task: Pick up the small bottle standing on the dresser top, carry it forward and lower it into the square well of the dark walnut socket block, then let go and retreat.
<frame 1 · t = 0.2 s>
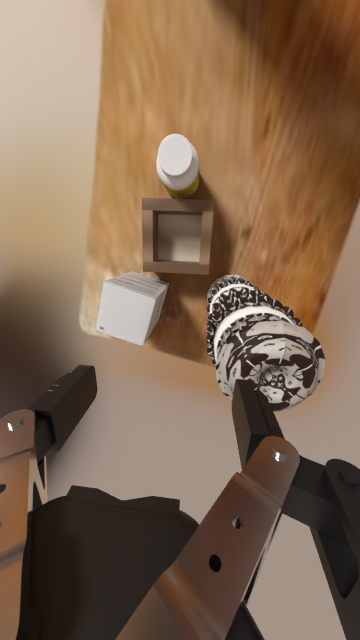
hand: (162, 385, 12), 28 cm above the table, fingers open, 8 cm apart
supplement bottle: (182, 180, 33), on the table
supplement box: (147, 294, 40), on the table
decorative candle: (229, 297, 39), on the table
socket block: (180, 238, 36), on the table
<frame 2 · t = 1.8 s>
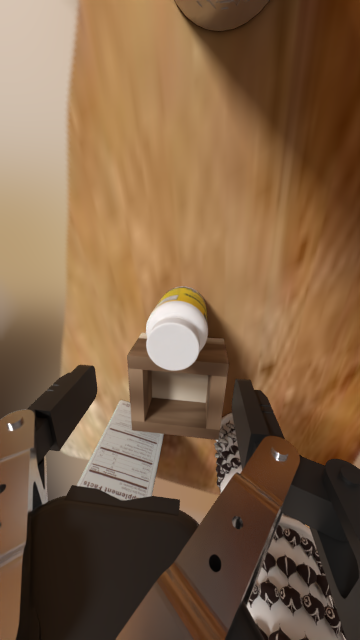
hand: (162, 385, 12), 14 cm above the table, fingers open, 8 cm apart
supplement bottle: (183, 307, 25), on the table
supplement box: (139, 422, 32), on the table
decorative candle: (243, 432, 31), on the table
socket block: (180, 370, 28), on the table
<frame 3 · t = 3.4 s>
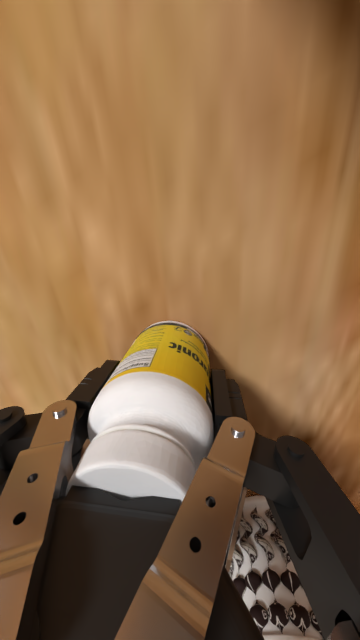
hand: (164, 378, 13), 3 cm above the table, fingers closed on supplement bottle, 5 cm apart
supplement bottle: (172, 351, 16), on the table, touching gripper
decorative candle: (261, 520, 21), on the table
socket block: (169, 440, 18), on the table
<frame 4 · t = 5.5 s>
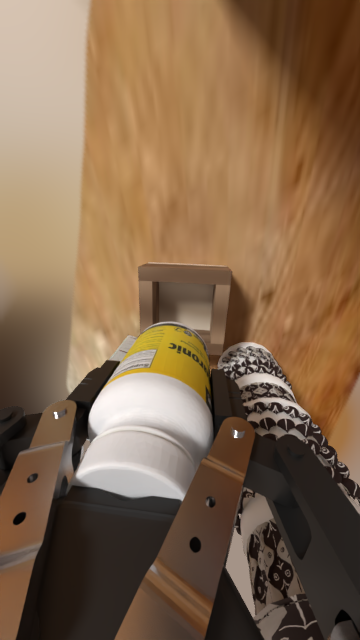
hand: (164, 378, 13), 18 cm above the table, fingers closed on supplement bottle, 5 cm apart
supplement bottle: (172, 352, 16), point 15 cm above the table, touching gripper
supplement box: (145, 359, 34), on the table
decorative candle: (245, 366, 32), on the table
socket block: (185, 301, 30), on the table
when the fingers open (6 cm above the table, at t = 8.0 s): supplement bottle drops 2 cm, resting on socket block.
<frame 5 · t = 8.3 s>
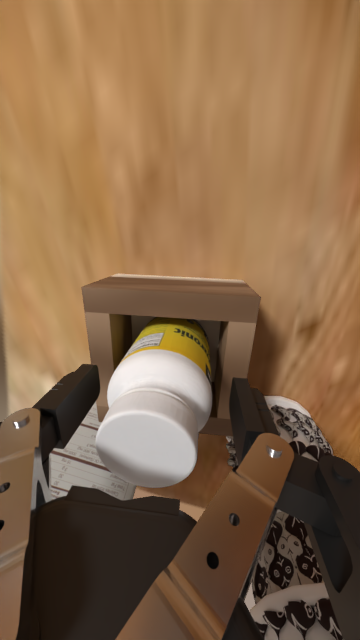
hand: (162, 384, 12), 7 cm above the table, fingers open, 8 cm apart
supplement bottle: (175, 340, 17), point 1 cm above the table, touching socket block
supplement box: (119, 414, 23), on the table
decorative candle: (266, 427, 21), on the table
socket block: (176, 334, 19), on the table
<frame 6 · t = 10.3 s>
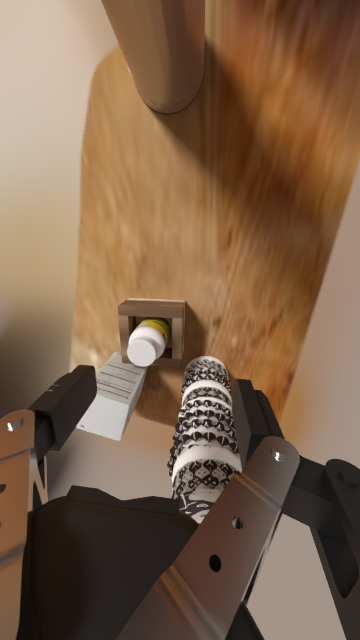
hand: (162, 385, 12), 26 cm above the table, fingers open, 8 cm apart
supplement bottle: (156, 328, 38), point 1 cm above the table, touching socket block
supplement box: (129, 370, 43), on the table
decorative candle: (205, 374, 42), on the table
socket block: (157, 325, 39), on the table
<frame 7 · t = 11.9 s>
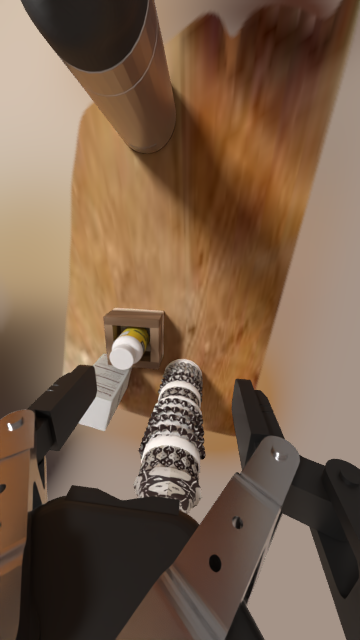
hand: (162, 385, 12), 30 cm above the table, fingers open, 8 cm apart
supplement bottle: (138, 334, 43), point 1 cm above the table, touching socket block
supplement box: (116, 370, 49), on the table
decorative candle: (183, 374, 47), on the table
socket block: (140, 332, 45), on the table
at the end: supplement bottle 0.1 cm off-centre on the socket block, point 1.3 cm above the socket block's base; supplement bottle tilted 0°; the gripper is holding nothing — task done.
